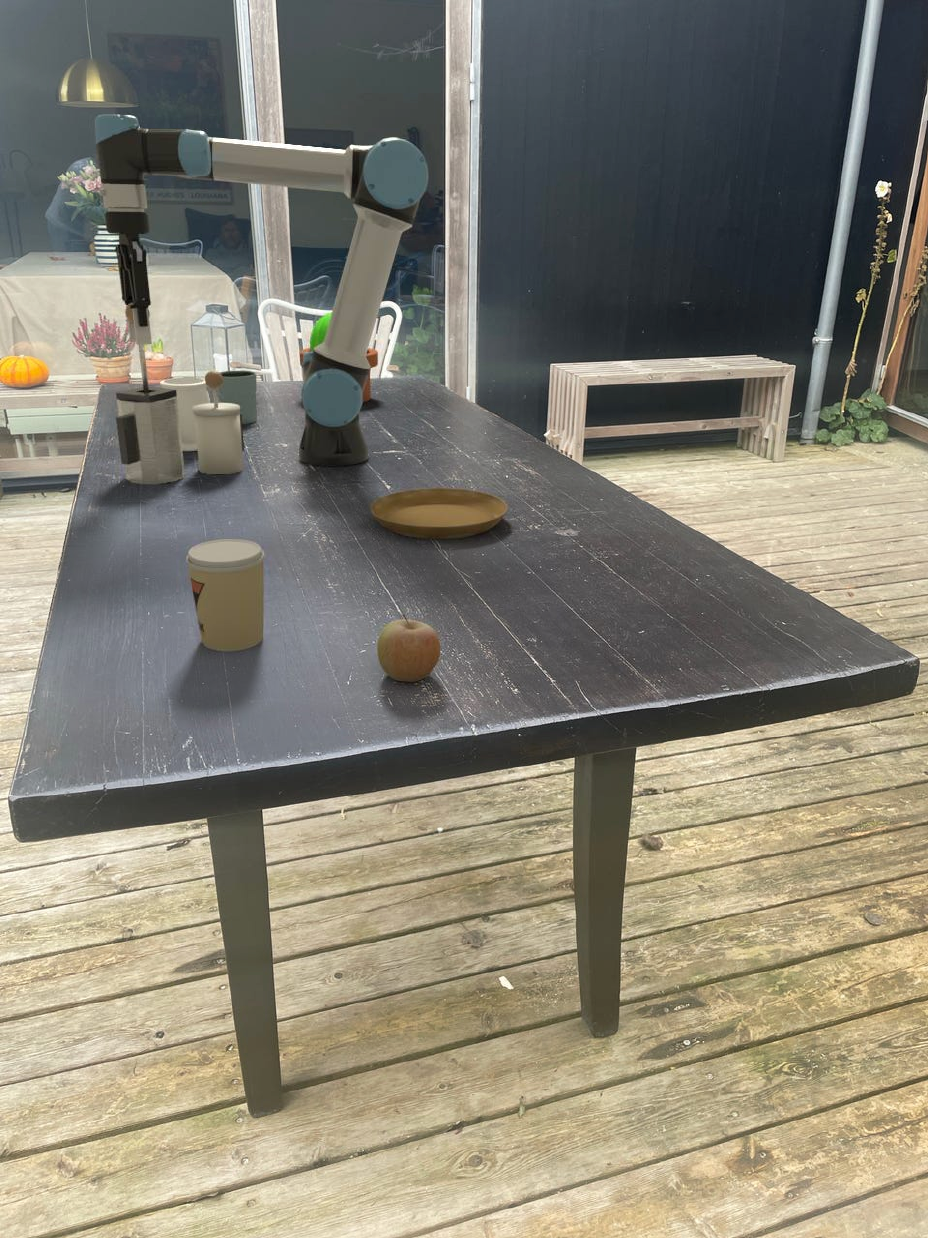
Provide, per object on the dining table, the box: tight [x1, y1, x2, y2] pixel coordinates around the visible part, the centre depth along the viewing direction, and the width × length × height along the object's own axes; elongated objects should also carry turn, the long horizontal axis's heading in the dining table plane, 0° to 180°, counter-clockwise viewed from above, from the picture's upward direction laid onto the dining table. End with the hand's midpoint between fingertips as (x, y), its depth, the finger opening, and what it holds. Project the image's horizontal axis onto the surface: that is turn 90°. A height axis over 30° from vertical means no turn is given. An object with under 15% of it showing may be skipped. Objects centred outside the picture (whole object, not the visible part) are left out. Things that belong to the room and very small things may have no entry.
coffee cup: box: [185, 538, 265, 653], centre depth 119 cm, size 9×9×12 cm
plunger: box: [124, 302, 151, 393], centre depth 184 cm, size 8×8×21 cm
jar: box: [160, 377, 211, 452], centre depth 214 cm, size 11×10×15 cm
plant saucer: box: [369, 487, 508, 540], centre depth 169 cm, size 24×24×3 cm
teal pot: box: [217, 369, 258, 425], centre depth 243 cm, size 10×10×12 cm
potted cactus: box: [299, 311, 379, 404], centre depth 270 cm, size 22×22×25 cm
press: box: [115, 386, 186, 485], centre depth 189 cm, size 11×14×17 cm
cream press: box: [193, 370, 245, 475], centre depth 197 cm, size 9×12×20 cm
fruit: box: [376, 612, 441, 683], centre depth 111 cm, size 8×7×8 cm
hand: (140, 342), depth 183 cm, fingers closed on plunger, 4 cm apart
